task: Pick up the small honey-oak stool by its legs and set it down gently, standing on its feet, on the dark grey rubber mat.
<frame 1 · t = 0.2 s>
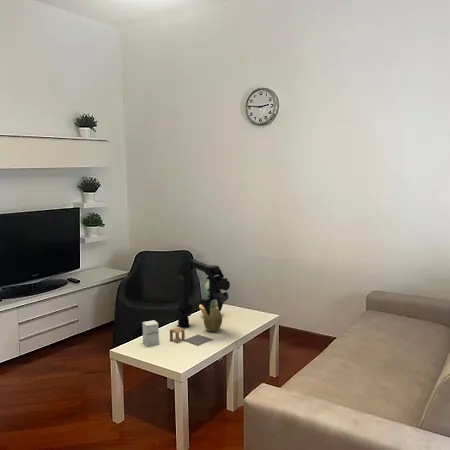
hand: (214, 313, 279), 14 cm above the table, fingers open, 9 cm apart
stool: (177, 340, 275), on the table
supplement box: (151, 344, 271), on the table
potted cactus: (210, 317, 317), on the table
fruit: (213, 331, 291), on the table
mat: (198, 340, 275), on the table
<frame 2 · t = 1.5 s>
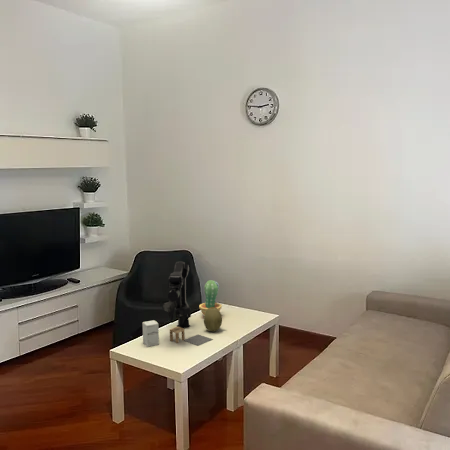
hand: (176, 322, 274), 11 cm above the table, fingers open, 9 cm apart
nothing on the table moved.
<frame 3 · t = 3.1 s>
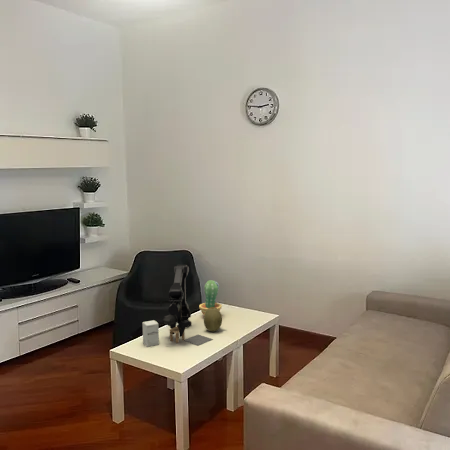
hand: (177, 335, 275), 3 cm above the table, fingers closed on stool, 6 cm apart
stool: (177, 340, 275), on the table, touching gripper, mat
everything else where it was.
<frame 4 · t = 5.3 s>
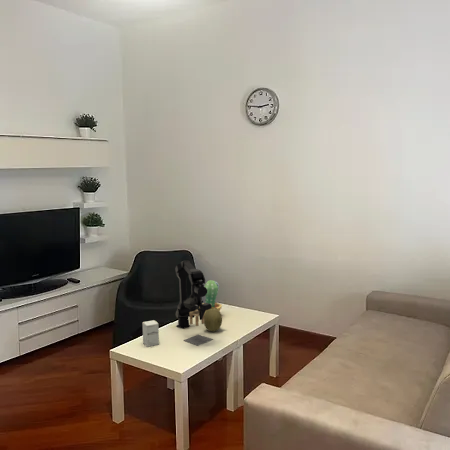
hand: (197, 318, 274), 13 cm above the table, fingers closed on stool, 6 cm apart
stool: (197, 323, 274), point 10 cm above the table, touching gripper
everything else where it was.
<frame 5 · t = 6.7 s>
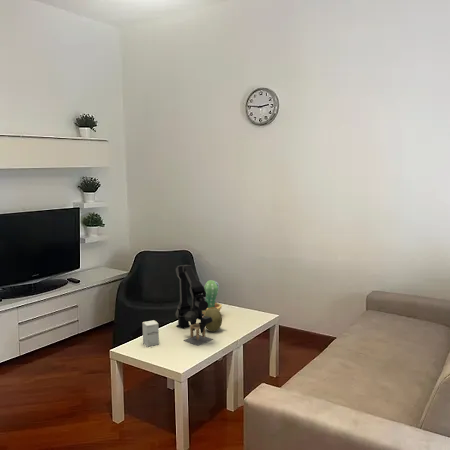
hand: (197, 331, 275), 5 cm above the table, fingers closed on stool, 6 cm apart
stool: (197, 336, 275), point 2 cm above the table, touching gripper
everything else where it was.
when the fingers open (5 cm above the table, at t = 7.7 s): stool drops 1 cm, resting on mat.
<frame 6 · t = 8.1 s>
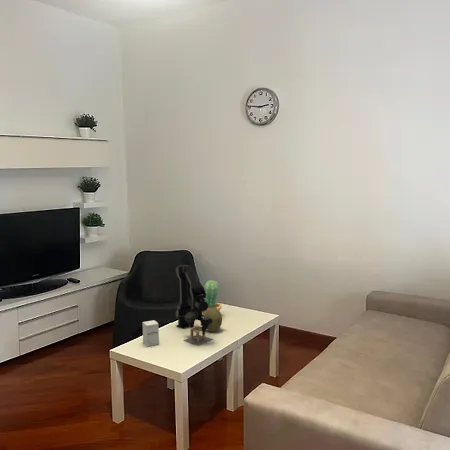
hand: (197, 332, 275), 5 cm above the table, fingers open, 9 cm apart
stool: (197, 339, 275), resting on mat
everything else where it was.
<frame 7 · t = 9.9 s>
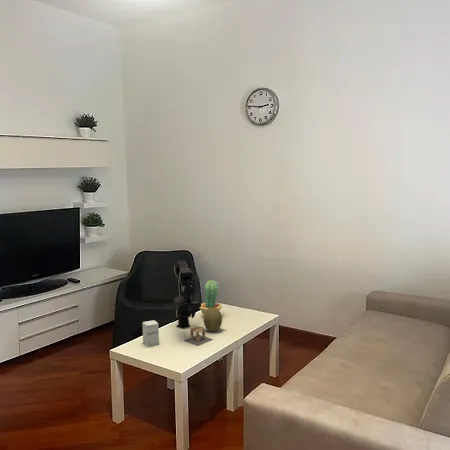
hand: (187, 316, 279), 13 cm above the table, fingers open, 9 cm apart
nothing on the table moved.
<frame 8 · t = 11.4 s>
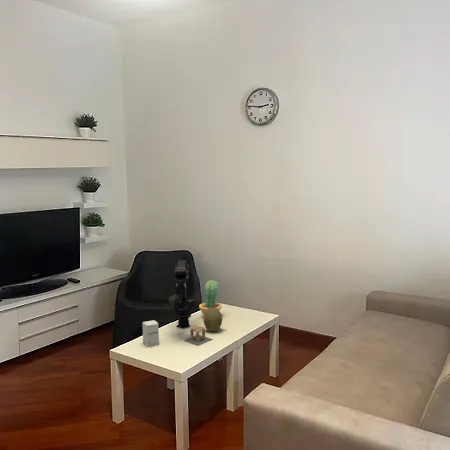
hand: (182, 314, 281), 13 cm above the table, fingers open, 9 cm apart
nothing on the table moved.
at the end: stool inside the target area on the mat (0.1 cm from its centre), point 0.4 cm above the mat's base; stool tilted 0°; the gripper is holding nothing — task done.
